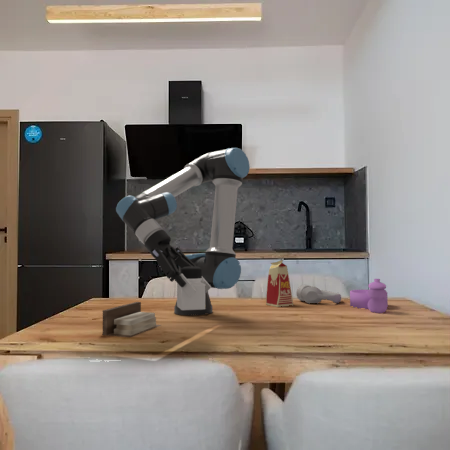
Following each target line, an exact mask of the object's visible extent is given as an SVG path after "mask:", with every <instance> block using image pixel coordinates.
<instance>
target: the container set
mask: <svg viewBox="0 0 450 450" xmlns="http://www.w3.org/2000/svg"><path fill="white" fill-rule="evenodd" d="M367 286H368V289H352V290H349V306H350V307H351V306H353V307H352V308H355V307H357V308H356V309H361V308H365V309H364V310H369V311H370V312H371V313H374V312H375V313H376V314H383V312H384V313H386V311H387V309H388V308H389V307H388V306H389V305H388V304H389V303H388V292H387V290H386V288H387V285H386V284H385V283H384V282H381V279H380V278H373V281H371V282H370V283H368V285H367ZM387 307H388V308H387Z"/></svg>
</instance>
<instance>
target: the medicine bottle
mask: <svg viewBox="0 0 450 450" xmlns="http://www.w3.org/2000/svg"><path fill="white" fill-rule="evenodd" d="M181 274H183V275H184V276H185V277H186V279H187V280H188V281H189V282H190V283H191V284H192V286H193V287H194V288H195V289H196V290H197V291H196V292H195V293H194V294H193V295H192V297H190V298H189V297H188V295H187V294H186V293H185V292H184V291H183V289H182V288H181V287H180V286H179V285H178V284H176V301H177V307H178V308H180V309H181V310H202V309H206V285H205V284H203V283H201V281H202V269H201V268H200V267H195V266H188V267H183V268H182V269H181Z"/></svg>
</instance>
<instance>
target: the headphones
mask: <svg viewBox="0 0 450 450" xmlns="http://www.w3.org/2000/svg"><path fill="white" fill-rule="evenodd" d="M295 295H296V298H297V299H298V300H299V301H301V302H304V301H305V303H307V304H310V303H317V304H319V303H321V302H322V301H323V300H325V299H327V300H326V301H331V302H333V303H334V304H340V303H341V301H342V295H341V293H338V292H333V291H328V290H323V289H320V288H318V287H316V286H312V285H309V284H301V285H299V286H298V287H297V290H296V294H295ZM339 302H340V303H339Z"/></svg>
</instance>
